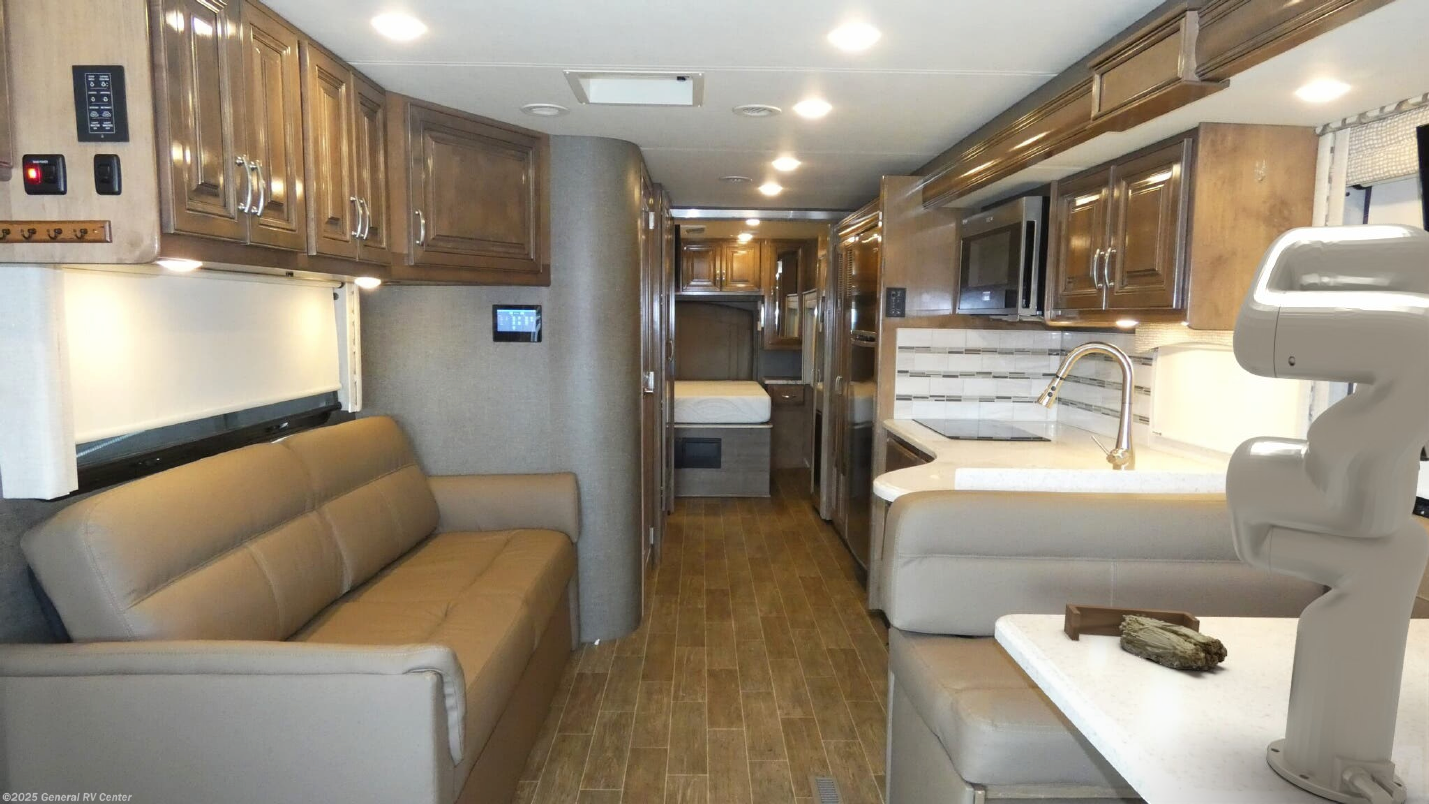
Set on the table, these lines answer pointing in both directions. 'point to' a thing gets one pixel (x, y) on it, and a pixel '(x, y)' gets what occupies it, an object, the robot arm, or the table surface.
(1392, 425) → the robot arm
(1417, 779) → the table surface
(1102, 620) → the stand
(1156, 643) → the beige fibrous lump
